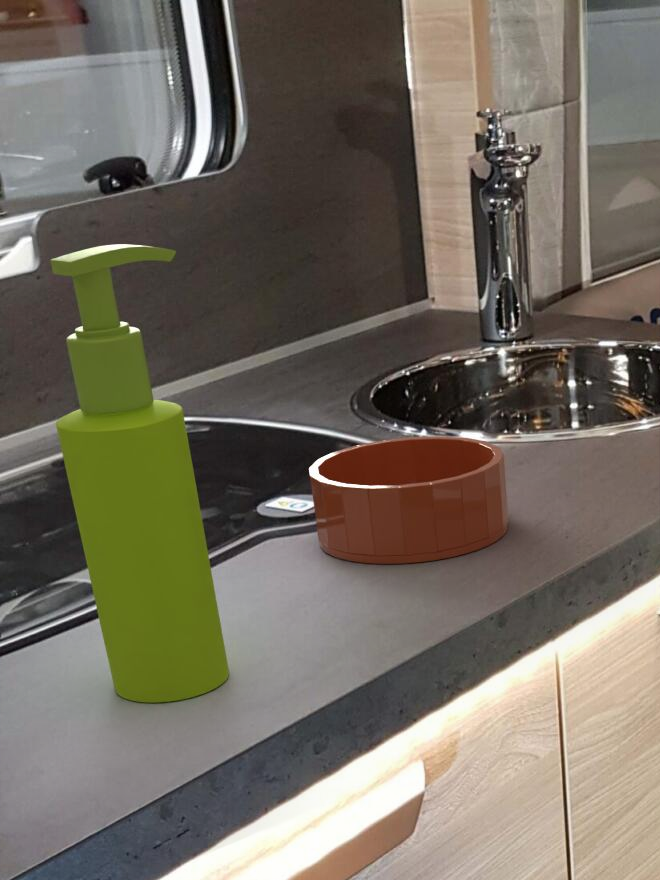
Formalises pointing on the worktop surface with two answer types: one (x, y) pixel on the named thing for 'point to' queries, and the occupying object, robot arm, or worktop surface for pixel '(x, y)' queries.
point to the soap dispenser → (136, 499)
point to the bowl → (410, 499)
